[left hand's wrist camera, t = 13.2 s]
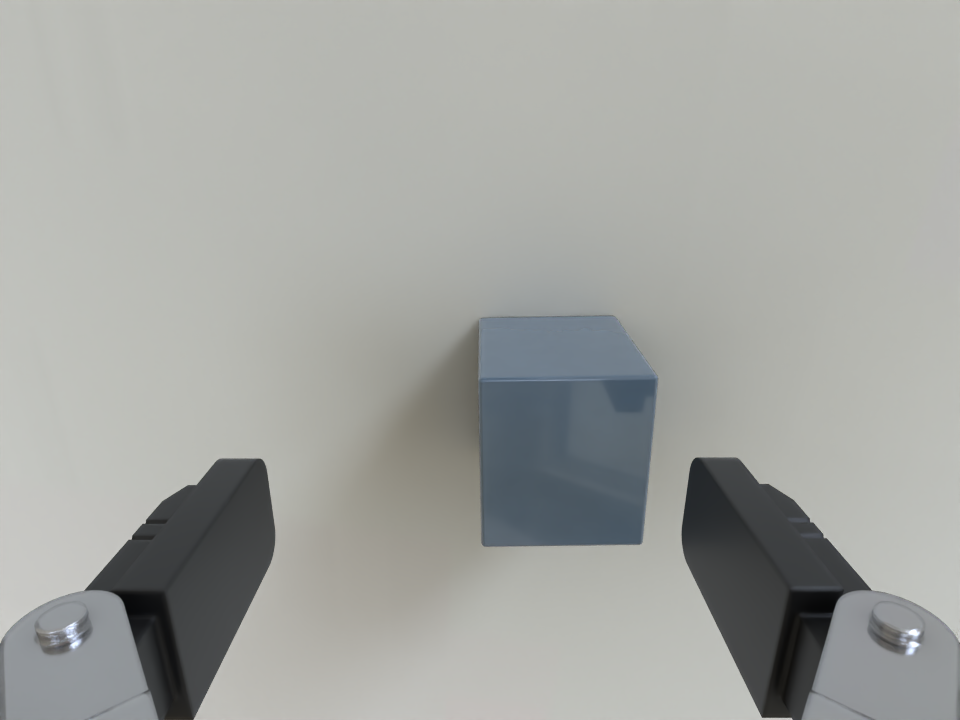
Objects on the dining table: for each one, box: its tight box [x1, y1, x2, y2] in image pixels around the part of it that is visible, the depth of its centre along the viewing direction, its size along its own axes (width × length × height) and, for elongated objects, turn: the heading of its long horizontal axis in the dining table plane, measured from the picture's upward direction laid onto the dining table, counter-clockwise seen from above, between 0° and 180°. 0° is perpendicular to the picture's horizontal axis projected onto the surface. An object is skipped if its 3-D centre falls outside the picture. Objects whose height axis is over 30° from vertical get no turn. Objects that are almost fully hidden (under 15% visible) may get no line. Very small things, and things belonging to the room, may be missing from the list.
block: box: [478, 316, 658, 547], centre depth 17 cm, size 5×4×5 cm
